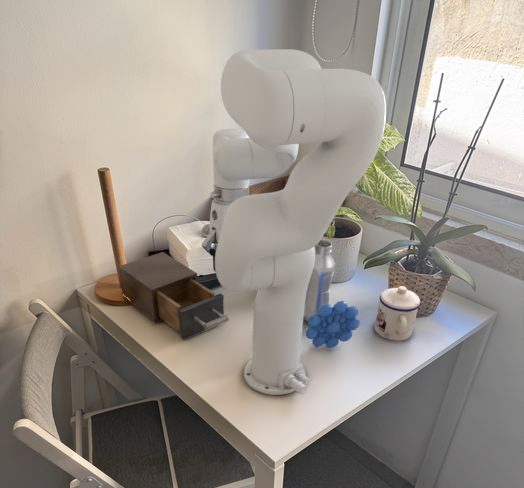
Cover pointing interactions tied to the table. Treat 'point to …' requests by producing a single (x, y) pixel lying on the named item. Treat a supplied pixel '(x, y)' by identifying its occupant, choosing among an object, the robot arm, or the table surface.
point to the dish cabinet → (151, 281)
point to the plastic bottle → (319, 279)
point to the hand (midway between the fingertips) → (232, 267)
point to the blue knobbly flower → (332, 324)
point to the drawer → (190, 307)
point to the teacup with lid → (396, 313)
